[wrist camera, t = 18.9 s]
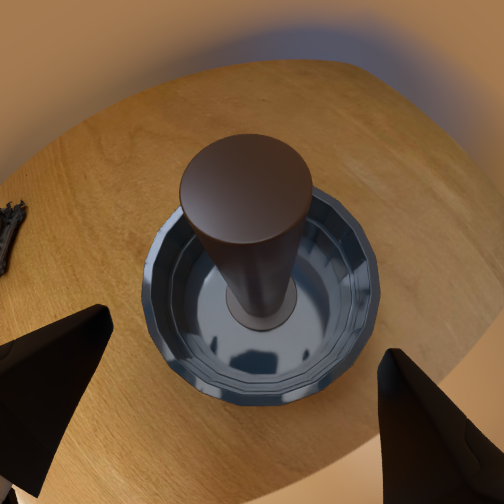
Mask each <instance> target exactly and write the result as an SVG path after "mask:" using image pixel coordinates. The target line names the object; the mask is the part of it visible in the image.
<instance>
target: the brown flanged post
mask: <svg viewBox="0 0 504 504" xmlns="http://www.w3.org/2000/svg"><path fill="white" fill-rule="evenodd" d="M312 192H313V183H312V177H311V174H310V171H309V168H308V167H307V165H306V163H305V161H304V160H303V158H302V157H301V156H300V155H299V154H298V153H297V152H296V151H295V150H294V149H293V148H292V147H290V146H289V145H287V144H286V143H284V142H282V141H280V140H278V139H275V138H272V137H269V136H265V135H258V134H239V135H233V136H229V137H226V138H223V139H220V140H218V141H215V142H214V143H212V144H210V145H208V146H207V147H205V148H204V149H202V150H201V151H200V152H199V153H198V154H197V155H196V156H195V157H194V158H193V159H192V160H191V161H190V163H189V164H188V166H187V167H186V169H185V171H184V173H183V176H182V179H181V183H180V189H179V199H180V204H181V208H182V211H183V213H184V215H185V217H186V219H187V220H188V222H189V224H190V225H191V227H192V229H193V230H194V232H195V234H196V235H197V237H198V238H199V240H200V242H201V243H202V245H203V247H204V248H205V250H206V251H207V253H208V255H209V256H210V258H211V259H212V261H213V263H214V264H215V266H216V267H217V269H218V271H219V272H220V274H221V275H222V277H223V278H224V280H225V282H226V283H227V288H226V303H227V307H228V309H229V312H230V313H231V315H232V316H233V318H234V319H235V320H236V321H237V322H238V323H240V324H241V325H242V326H244V327H246V328H247V329H250V330H253V331H260V332H263V331H270V330H273V329H276V328H278V327H280V326H281V325H283V324H284V323H285V322H286V321H287V320H288V319H289V317H290V316H291V314H292V313H293V311H294V309H295V306H296V303H297V288H296V284H295V281H294V280H293V278H292V276H291V274H292V270H293V266H294V263H295V259H296V256H297V252H298V248H299V245H300V241H301V237H302V234H303V230H304V226H305V222H306V218H307V214H308V211H309V207H310V203H311V199H312Z"/></svg>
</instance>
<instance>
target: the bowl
mask: <svg viewBox="0 0 504 504" xmlns="http://www.w3.org/2000/svg"><path fill="white" fill-rule="evenodd" d="M291 276H292V278H293V280H294V281H295V284H296V288H297V303H296V306H295V309H294V311H293V313H292V314H291V316H290V317H289V319H288V320H287V321H286V322H285V323H284V324H283V325H281V326H280V327H278V328H276V329H273V330H270V331H263V332H260V331H253V330H250V329H247V328H246V327H244V326H242V325H241V324H240V323H238V322H237V321H236V320H235V319H234V318H233V316H232V315H231V313H230V312H229V309H228V307H227V303H226V288H227V283H226V282H225V280H224V278H223V277H222V275H221V274H220V272H219V271H218V269H217V267H216V266H215V264H214V263H213V261H212V259H211V258H210V256H209V255H208V253H207V251H206V250H205V248H204V247H203V245H202V243H201V242H200V240H199V238H198V237H197V235H196V234H195V232H194V230H193V229H192V227H191V225H190V224H189V222H188V220H187V219H186V217H185V215H184V213H183V211H182V208H181V205H180V206H179V207H178V208H177V209H176V210H175V211H174V213H173V214H172V215H171V216H170V217H169V218H168V220H167V221H166V222H165V223H164V224H163V226H162V227H161V228H160V229H159V231H158V232H157V234H156V237H155V239H154V241H153V244H152V246H151V248H150V251H149V253H148V255H147V258H146V260H145V264H144V272H143V282H142V293H141V298H142V299H141V301H142V306H143V310H144V315H145V319H146V323H147V327H148V331H149V334H150V337H151V338H152V340H153V342H154V343H155V345H156V347H157V348H158V350H159V352H160V353H161V355H162V356H163V358H164V359H165V361H166V363H167V364H168V366H169V367H170V368H171V369H172V370H173V371H174V372H176V373H177V374H178V375H179V376H180V377H182V378H183V379H184V380H185V381H187V382H188V383H189V384H190V385H192V386H193V387H194V388H195V389H197V390H198V391H199V392H201V393H203V394H206V395H209V396H211V397H214V398H217V399H220V400H223V401H226V402H228V403H231V404H234V405H238V406H239V405H240V406H281V405H285V404H288V403H291V402H294V401H297V400H300V399H303V398H305V397H308V396H311V395H313V394H316V393H319V392H320V391H322V390H323V389H325V388H326V387H327V386H328V385H330V384H331V383H332V382H333V381H335V380H336V379H337V378H338V377H340V376H341V375H342V374H343V373H344V372H346V371H347V370H348V369H349V368H350V367H351V366H352V365H353V364H354V362H355V361H356V359H357V358H358V356H359V354H360V353H361V351H362V350H363V348H364V346H365V345H366V343H367V341H368V339H369V338H370V336H371V334H372V331H373V329H374V324H375V320H376V315H377V311H378V306H379V301H380V283H379V275H378V267H377V260H376V256H375V254H374V252H373V250H372V247H371V245H370V243H369V241H368V239H367V237H366V235H365V233H364V230H363V228H362V227H361V225H360V224H359V222H358V221H357V220H356V219H355V218H354V217H353V216H352V215H351V214H350V213H349V211H348V210H347V209H346V208H345V207H344V206H343V205H342V204H341V203H340V202H339V201H338V200H336V199H335V198H333V197H332V196H330V195H328V194H327V193H325V192H323V191H321V190H320V189H318V188H316V187H315V186H313V192H312V199H311V203H310V207H309V211H308V214H307V218H306V222H305V226H304V230H303V234H302V237H301V241H300V245H299V248H298V252H297V256H296V259H295V263H294V266H293V270H292V274H291Z"/></svg>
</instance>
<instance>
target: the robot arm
mask: <svg viewBox="0 0 504 504" xmlns="http://www.w3.org/2000/svg"><path fill="white" fill-rule="evenodd" d="M112 332H113V322H112V318H111V315H110V311H109V308H108V307H107V306H104V305H101V304H95V305H93V306H91V307H88V308H86V309H84V310H81V311H79V312H77V313H74V314H72V315H70V316H67V317H65V318H63V319H60V320H58V321H56V322H54V323H51V324H49V325H47V326H44V327H42V328H40V329H37V330H35V331H33V332H31V333H28V334H26V335H24V336H21V337H19V338H17V339H15V340H12V341H10V342H8V343H6V344H3V345H1V346H0V504H18V501H17V497H16V494H15V490H14V489H13V488H12V487H11V486H12V485H13V484H14V485H16V486H17V487H19V488H21V489H22V490H24V491H25V492H27V493H29V494H31V495H32V496H34V497H36V498H38V496H39V494H40V491H41V489H42V486H43V483H44V481H45V478H46V475H47V473H48V470H49V468H50V465H51V463H52V460H53V458H54V455H55V453H56V451H57V448H58V446H59V444H60V442H61V439H62V437H63V435H64V433H65V430H66V428H67V426H68V424H69V422H70V420H71V418H72V416H73V414H74V411H75V409H76V407H77V405H78V403H79V401H80V399H81V397H82V395H83V393H84V392H85V390H86V388H87V386H88V384H89V382H90V380H91V378H92V376H93V374H94V373H95V371H96V369H97V367H98V364H99V362H100V360H101V358H102V355H103V353H104V350H105V348H106V346H107V343H108V341H109V339H110V337H111V334H112ZM377 380H378V419H379V429H380V440H381V453H382V471H383V504H504V453H503V452H502V451H501V450H500V449H498V448H497V447H496V446H495V445H494V444H493V443H492V442H491V441H490V440H489V439H488V438H487V437H485V435H483V434H482V432H481V431H480V430H479V429H478V428H477V427H476V426H475V425H474V424H473V423H472V422H471V421H470V420H469V419H468V418H467V417H466V415H465V414H464V413H463V412H462V411H461V410H460V409H459V408H458V407H457V406H456V405H455V404H454V403H453V402H452V401H451V400H450V399H449V398H448V396H447V395H446V394H445V393H444V392H443V391H442V390H441V389H440V388H439V387H438V386H437V385H436V384H435V383H434V382H433V381H432V380H431V379H430V378H429V377H428V376H427V375H426V374H425V373H424V372H423V371H422V370H421V369H420V368H419V367H418V366H417V365H416V364H415V363H414V362H413V361H412V360H411V359H410V358H409V357H408V356H407V355H406V354H405V353H404V352H403V351H402V350H401V349H399V348H389V349H387V351H386V352H385V354H384V356H383V358H382V360H381V362H380V364H379V366H378V370H377Z"/></svg>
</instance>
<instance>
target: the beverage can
mask: <svg viewBox="0 0 504 504" xmlns="http://www.w3.org/2000/svg"><path fill="white" fill-rule="evenodd" d="M11 203H12V201H11ZM10 205H11V204H10V203H8V204H7V205H6V206H7V208H6V209H5V208H3V209H1V208H0V277H1V276H2V275H3V274H4V273H5V265H6V264H7V261H6V256H7V253H8V252H7V251H8V246H9V244H11V239H13V240H14V237H15V234H16V231H15V230H14V229H15V228H17V227H18V224H19V223H20V222H22V221H23V219H24V214H25V212H24V210H23V211H22V210H21V209H20V206H23V205H24V206H25V203H24V202H23V201H22V200H21V204H18V205H16V206H14V211H13V209H12V208H10V207H11V206H10ZM22 208H23V207H22Z"/></svg>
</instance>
